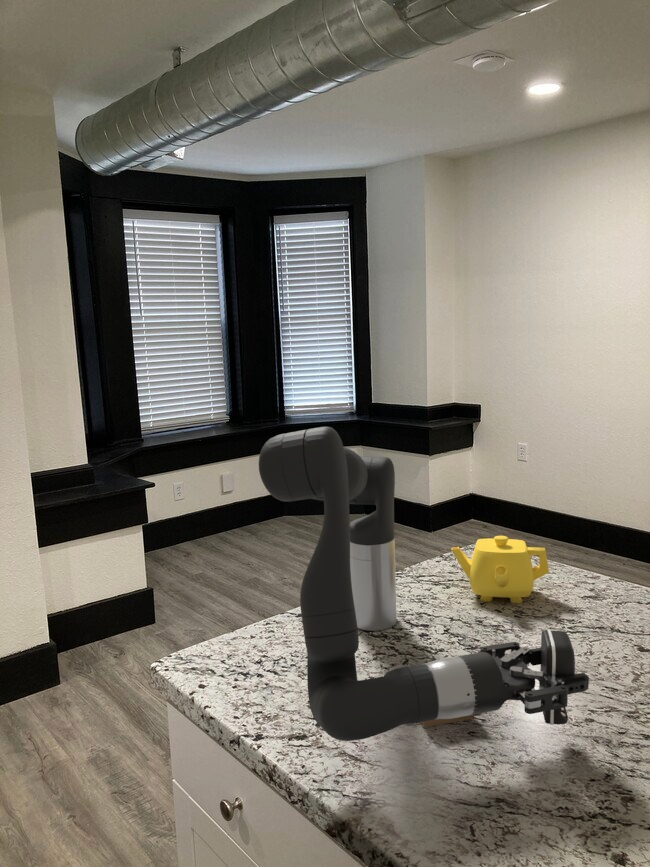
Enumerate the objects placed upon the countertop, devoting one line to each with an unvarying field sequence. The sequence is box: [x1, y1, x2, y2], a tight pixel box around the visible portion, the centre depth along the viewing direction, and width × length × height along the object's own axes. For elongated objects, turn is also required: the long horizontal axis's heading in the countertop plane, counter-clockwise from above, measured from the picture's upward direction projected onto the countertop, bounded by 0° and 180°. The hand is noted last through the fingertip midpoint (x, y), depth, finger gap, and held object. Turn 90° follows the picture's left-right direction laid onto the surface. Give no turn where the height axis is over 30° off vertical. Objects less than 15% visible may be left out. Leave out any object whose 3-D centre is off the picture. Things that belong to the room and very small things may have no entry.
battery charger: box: [539, 628, 576, 726], centre depth 97 cm, size 7×4×11 cm, turn 170°
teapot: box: [451, 535, 550, 604], centre depth 148 cm, size 20×19×13 cm
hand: (570, 666), depth 98 cm, fingers closed on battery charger, 7 cm apart
